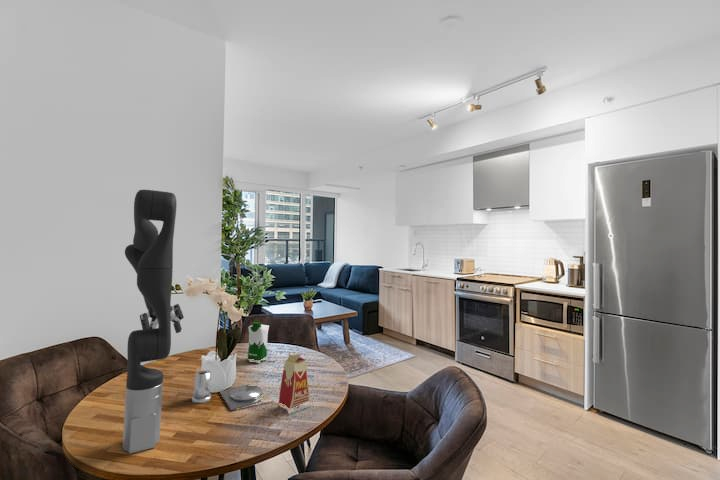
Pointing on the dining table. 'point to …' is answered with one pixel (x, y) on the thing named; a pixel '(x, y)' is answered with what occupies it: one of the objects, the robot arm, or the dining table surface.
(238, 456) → the dining table surface
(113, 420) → the dining table surface
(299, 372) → the milk carton
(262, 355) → the soya milk
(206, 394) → the hub
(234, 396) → the plate on grey tray
